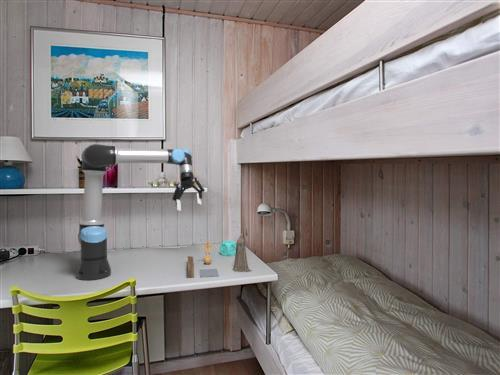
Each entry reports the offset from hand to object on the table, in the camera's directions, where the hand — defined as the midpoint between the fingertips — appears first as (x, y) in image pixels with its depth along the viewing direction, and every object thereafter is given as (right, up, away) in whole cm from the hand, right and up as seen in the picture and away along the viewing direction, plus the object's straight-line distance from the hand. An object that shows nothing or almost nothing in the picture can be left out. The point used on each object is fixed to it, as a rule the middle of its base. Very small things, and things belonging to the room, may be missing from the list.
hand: (189, 207), depth 184 cm
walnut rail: (+3, -32, -12) cm, 34 cm away
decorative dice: (+21, -31, +20) cm, 42 cm away
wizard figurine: (+30, -32, -12) cm, 45 cm away
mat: (+13, -32, -18) cm, 39 cm away
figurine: (+10, -31, -1) cm, 33 cm away
